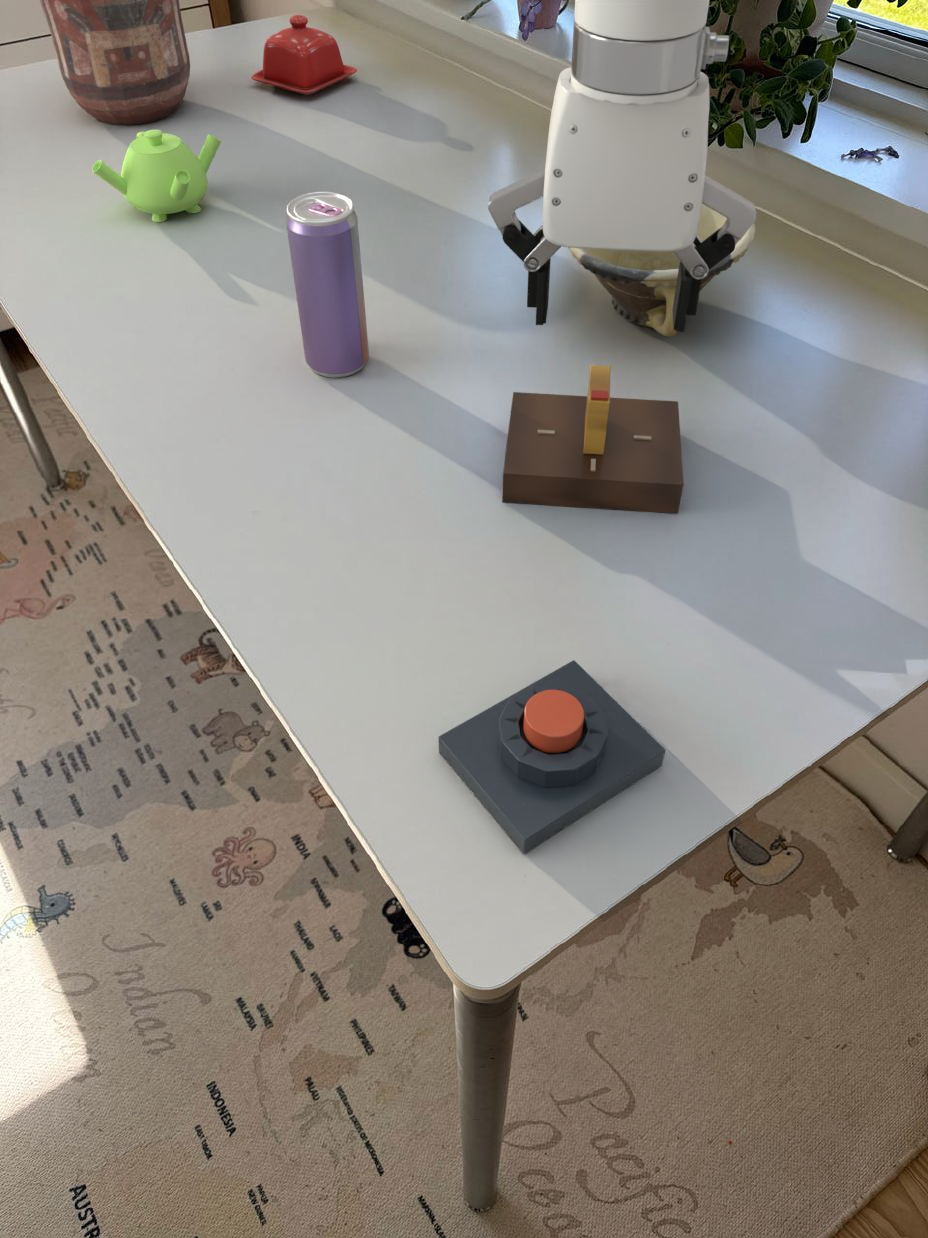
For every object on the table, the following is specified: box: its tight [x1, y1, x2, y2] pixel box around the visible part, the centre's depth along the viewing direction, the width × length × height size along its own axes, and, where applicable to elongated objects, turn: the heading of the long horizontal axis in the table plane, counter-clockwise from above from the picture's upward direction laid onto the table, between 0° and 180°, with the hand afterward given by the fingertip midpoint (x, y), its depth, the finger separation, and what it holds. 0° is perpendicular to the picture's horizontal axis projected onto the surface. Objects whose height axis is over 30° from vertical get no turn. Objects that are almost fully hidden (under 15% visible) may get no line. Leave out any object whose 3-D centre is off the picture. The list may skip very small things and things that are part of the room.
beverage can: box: [285, 191, 370, 379], centre depth 89 cm, size 6×6×15 cm
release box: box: [437, 659, 666, 855], centre depth 63 cm, size 11×9×4 cm
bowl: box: [568, 204, 756, 337], centre depth 97 cm, size 18×18×10 cm
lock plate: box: [501, 391, 684, 514], centre depth 83 cm, size 14×11×3 cm
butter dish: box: [250, 14, 358, 96], centre depth 139 cm, size 12×12×8 cm
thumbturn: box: [583, 364, 611, 455], centre depth 80 cm, size 5×2×5 cm, turn 174°
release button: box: [523, 690, 584, 753], centre depth 61 cm, size 4×4×2 cm
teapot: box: [91, 129, 222, 223], centre depth 113 cm, size 11×12×8 cm
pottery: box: [39, 0, 191, 126], centre depth 130 cm, size 18×18×18 cm
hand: (609, 318), depth 71 cm, fingers open, 9 cm apart
